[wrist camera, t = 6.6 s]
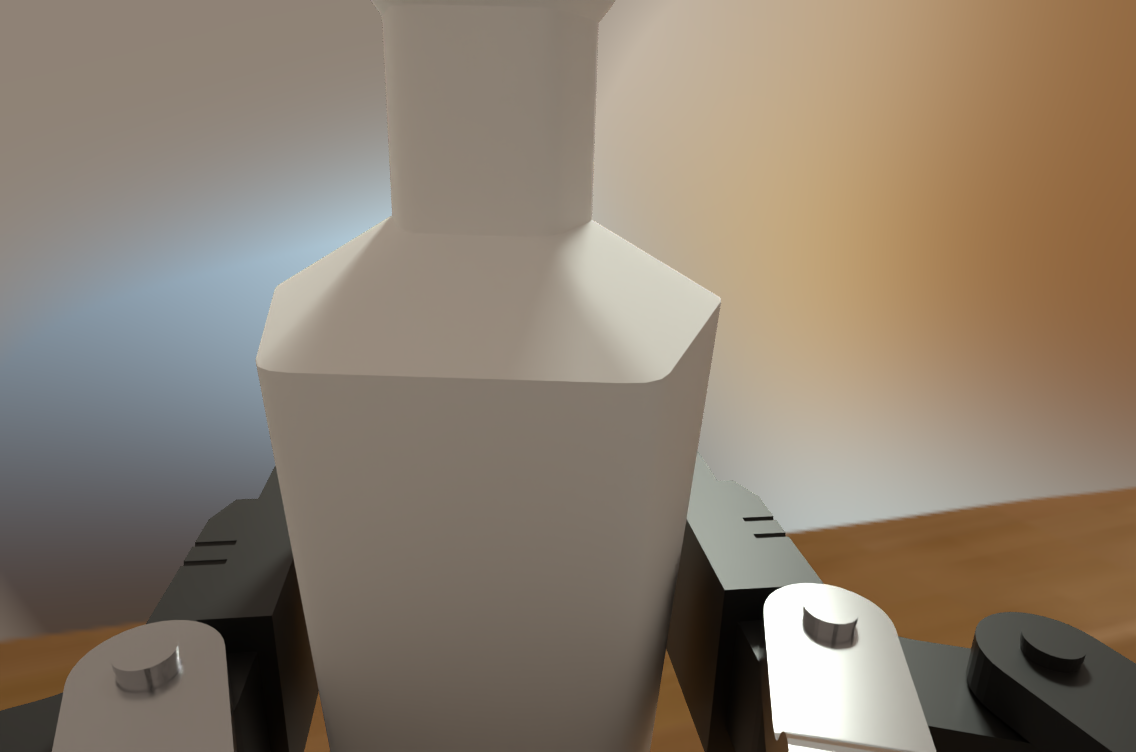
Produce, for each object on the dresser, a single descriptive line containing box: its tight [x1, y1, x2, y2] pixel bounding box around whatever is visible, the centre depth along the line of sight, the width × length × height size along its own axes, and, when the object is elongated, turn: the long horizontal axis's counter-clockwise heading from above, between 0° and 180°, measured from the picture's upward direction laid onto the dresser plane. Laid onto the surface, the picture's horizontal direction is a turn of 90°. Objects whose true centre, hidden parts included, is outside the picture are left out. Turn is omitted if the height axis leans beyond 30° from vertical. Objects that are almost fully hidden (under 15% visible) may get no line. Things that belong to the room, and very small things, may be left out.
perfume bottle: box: [256, 0, 721, 752], centre depth 9 cm, size 5×4×15 cm
